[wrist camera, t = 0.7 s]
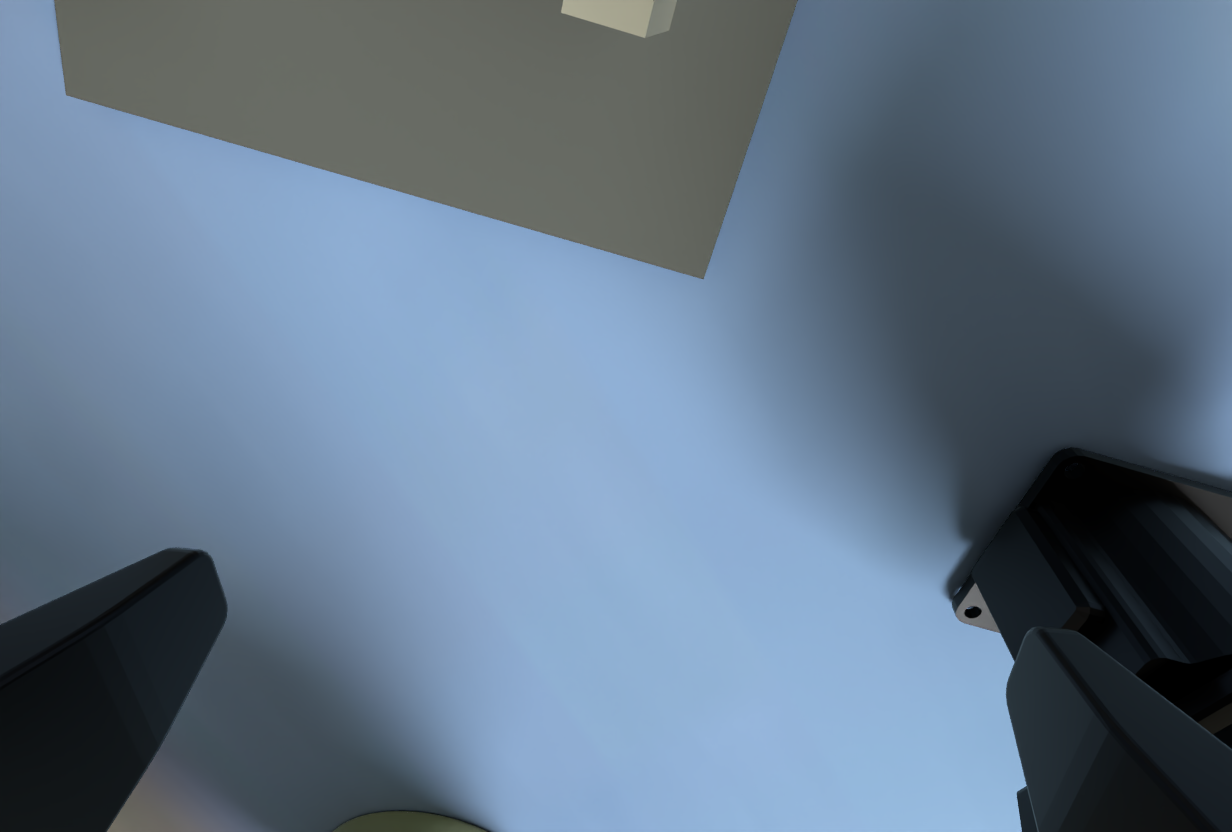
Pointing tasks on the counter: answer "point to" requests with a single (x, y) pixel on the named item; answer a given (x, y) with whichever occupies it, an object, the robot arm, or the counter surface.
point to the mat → (461, 102)
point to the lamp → (406, 823)
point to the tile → (625, 14)
